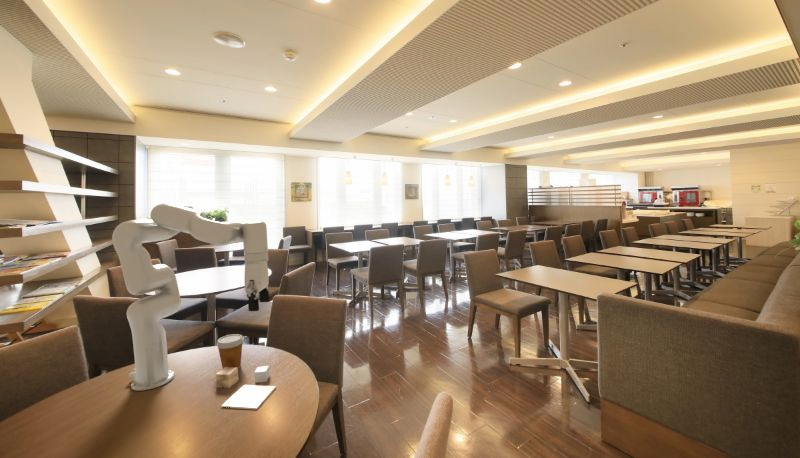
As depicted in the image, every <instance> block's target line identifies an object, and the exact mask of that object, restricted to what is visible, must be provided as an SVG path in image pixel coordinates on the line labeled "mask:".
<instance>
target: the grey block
mask: <svg viewBox="0 0 800 458" xmlns="http://www.w3.org/2000/svg"><path fill="white" fill-rule="evenodd" d="M269 378H270V366H269V365H265V366H257V367H256V369H255V371H254V383H255V382H257V383H265V382H267V381H268V380H269ZM267 383H268V382H267Z"/></svg>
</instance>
